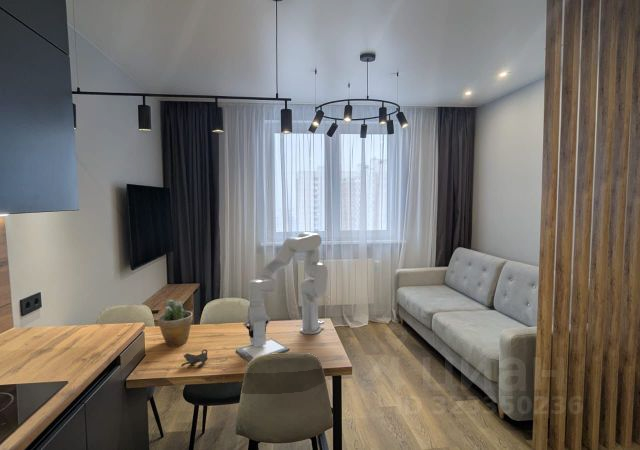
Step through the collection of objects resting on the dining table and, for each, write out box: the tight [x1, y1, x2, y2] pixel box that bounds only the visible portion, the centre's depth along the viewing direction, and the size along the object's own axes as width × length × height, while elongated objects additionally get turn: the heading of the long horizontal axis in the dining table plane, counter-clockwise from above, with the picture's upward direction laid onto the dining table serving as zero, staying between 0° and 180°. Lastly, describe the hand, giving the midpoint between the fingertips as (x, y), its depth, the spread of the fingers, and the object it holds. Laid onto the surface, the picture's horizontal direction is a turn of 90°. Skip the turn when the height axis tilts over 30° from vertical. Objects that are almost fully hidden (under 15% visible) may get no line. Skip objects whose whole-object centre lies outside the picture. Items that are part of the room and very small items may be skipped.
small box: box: [249, 320, 267, 347], centre depth 183 cm, size 8×6×13 cm
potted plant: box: [157, 299, 193, 347], centre depth 192 cm, size 18×19×25 cm
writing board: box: [235, 337, 290, 362], centre depth 180 cm, size 22×18×2 cm
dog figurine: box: [180, 349, 209, 368], centre depth 165 cm, size 12×6×7 cm, turn 101°
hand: (257, 334), depth 183 cm, fingers closed on small box, 6 cm apart
